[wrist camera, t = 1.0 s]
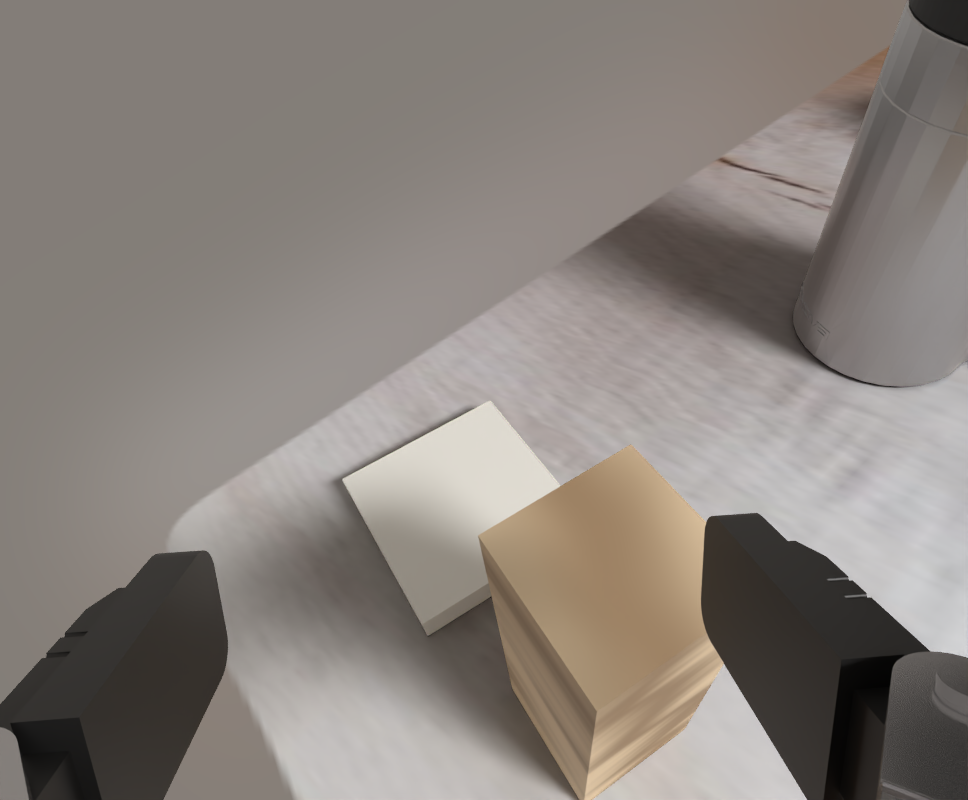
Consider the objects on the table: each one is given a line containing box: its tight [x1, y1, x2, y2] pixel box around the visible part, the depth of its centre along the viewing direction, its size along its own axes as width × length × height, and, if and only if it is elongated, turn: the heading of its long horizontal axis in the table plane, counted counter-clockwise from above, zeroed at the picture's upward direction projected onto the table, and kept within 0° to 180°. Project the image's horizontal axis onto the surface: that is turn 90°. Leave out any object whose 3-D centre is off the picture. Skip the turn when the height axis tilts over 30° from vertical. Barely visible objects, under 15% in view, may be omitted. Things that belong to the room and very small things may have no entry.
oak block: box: [478, 445, 724, 800], centre depth 21 cm, size 5×5×14 cm
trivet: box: [342, 401, 560, 636], centre depth 32 cm, size 9×9×2 cm
